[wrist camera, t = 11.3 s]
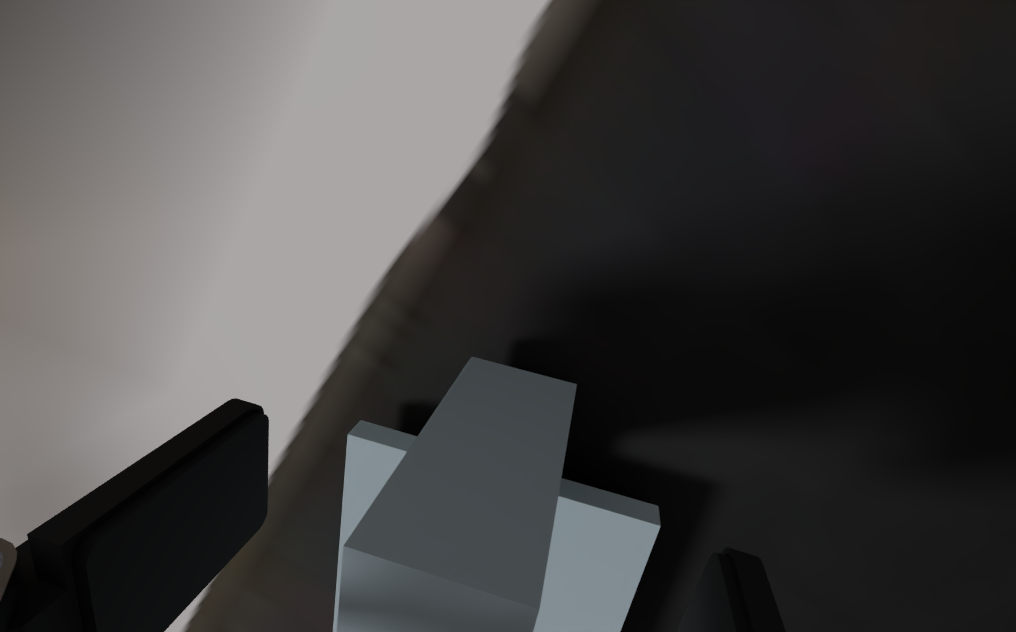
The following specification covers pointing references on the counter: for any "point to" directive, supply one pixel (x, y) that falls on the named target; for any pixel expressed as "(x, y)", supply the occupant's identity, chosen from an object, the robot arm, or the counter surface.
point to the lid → (484, 519)
